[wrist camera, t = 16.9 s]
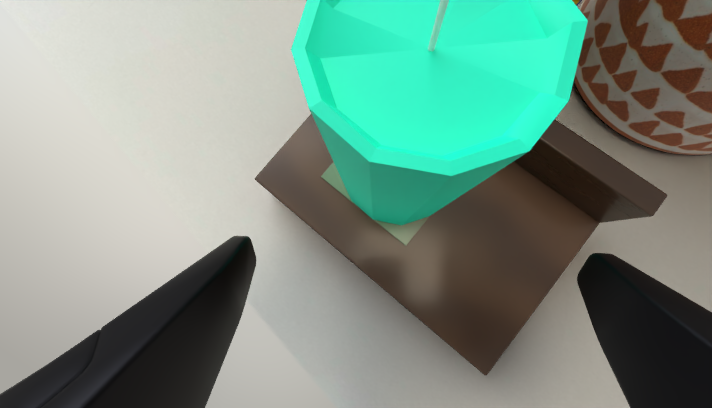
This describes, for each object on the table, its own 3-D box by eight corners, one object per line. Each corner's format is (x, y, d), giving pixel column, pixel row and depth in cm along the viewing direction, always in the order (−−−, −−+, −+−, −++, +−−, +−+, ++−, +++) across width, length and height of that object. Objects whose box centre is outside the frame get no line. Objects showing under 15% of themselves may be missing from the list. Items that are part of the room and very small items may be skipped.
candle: (382, 247, 16) (403, 234, 4) (322, 156, 17) (197, -71, 5) (475, 185, 16) (764, -4, 4) (411, 100, 17) (495, -251, 5)
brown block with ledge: (467, 355, 18) (514, 408, 12) (271, 189, 20) (228, 163, 14) (575, 213, 18) (669, 195, 13) (375, 69, 21) (375, -2, 15)
